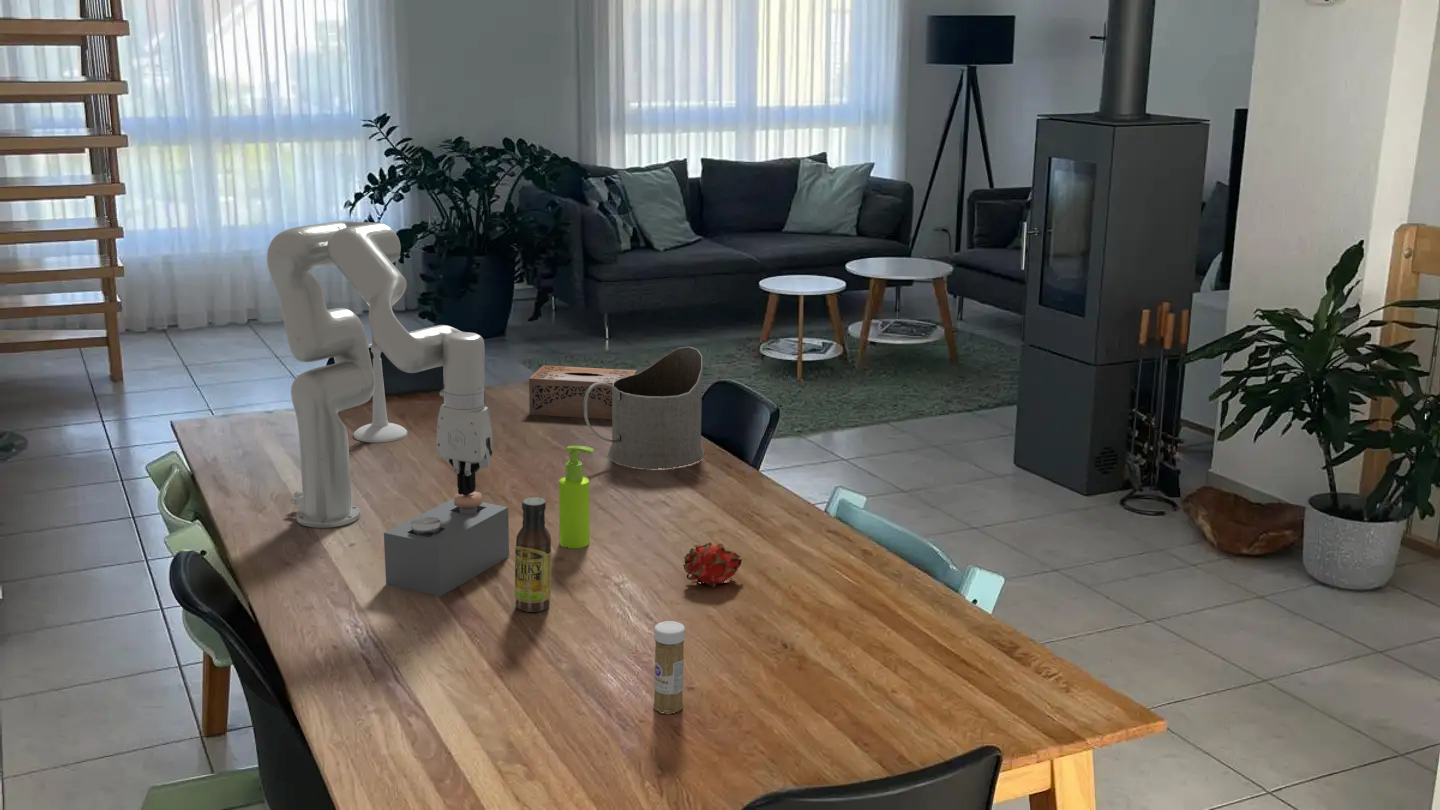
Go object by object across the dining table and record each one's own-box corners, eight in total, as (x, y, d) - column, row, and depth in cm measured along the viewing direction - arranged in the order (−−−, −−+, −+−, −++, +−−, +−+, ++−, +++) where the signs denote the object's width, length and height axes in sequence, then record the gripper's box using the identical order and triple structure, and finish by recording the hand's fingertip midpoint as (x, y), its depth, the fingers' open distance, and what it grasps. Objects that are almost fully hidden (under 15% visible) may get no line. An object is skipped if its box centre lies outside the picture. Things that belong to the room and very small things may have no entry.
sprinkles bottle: (647, 708, 207) (647, 626, 204) (667, 698, 211) (668, 617, 207) (669, 718, 205) (670, 635, 201) (689, 707, 208) (691, 625, 204)
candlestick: (400, 443, 333) (395, 321, 325) (347, 441, 333) (341, 320, 325) (412, 428, 346) (407, 311, 338) (361, 427, 346) (355, 309, 338)
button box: (386, 584, 250) (383, 532, 248) (457, 545, 270) (456, 497, 267) (440, 596, 246) (438, 544, 243) (509, 556, 265) (508, 507, 262)
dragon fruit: (676, 593, 253) (735, 593, 258) (694, 581, 246) (754, 582, 251) (672, 549, 256) (730, 549, 261) (690, 536, 249) (749, 537, 254)
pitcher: (724, 459, 327) (727, 356, 320) (612, 483, 308) (612, 375, 302) (668, 435, 345) (669, 338, 338) (558, 456, 326) (557, 354, 319)
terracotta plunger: (449, 534, 261) (448, 497, 259) (465, 526, 265) (464, 489, 263) (472, 539, 259) (471, 501, 257) (488, 530, 263) (487, 493, 261)
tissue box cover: (529, 415, 360) (529, 378, 357) (543, 401, 374) (543, 365, 371) (626, 421, 357) (626, 383, 354) (636, 406, 371) (637, 370, 368)
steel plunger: (406, 562, 250) (405, 523, 248) (424, 553, 254) (423, 515, 252) (430, 567, 248) (428, 528, 246) (447, 558, 252) (446, 519, 250)
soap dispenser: (589, 550, 269) (589, 452, 263) (555, 546, 270) (554, 449, 265) (598, 539, 274) (597, 443, 269) (564, 536, 276) (564, 441, 270)
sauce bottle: (508, 610, 241) (506, 503, 235) (526, 597, 246) (524, 492, 241) (541, 616, 238) (539, 508, 233) (558, 603, 244) (557, 497, 239)
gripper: (419, 398, 255) (422, 492, 260) (486, 410, 249) (488, 505, 254) (443, 389, 261) (445, 480, 266) (510, 400, 255) (511, 493, 260)
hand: (466, 492), depth 260 cm, fingers closed
